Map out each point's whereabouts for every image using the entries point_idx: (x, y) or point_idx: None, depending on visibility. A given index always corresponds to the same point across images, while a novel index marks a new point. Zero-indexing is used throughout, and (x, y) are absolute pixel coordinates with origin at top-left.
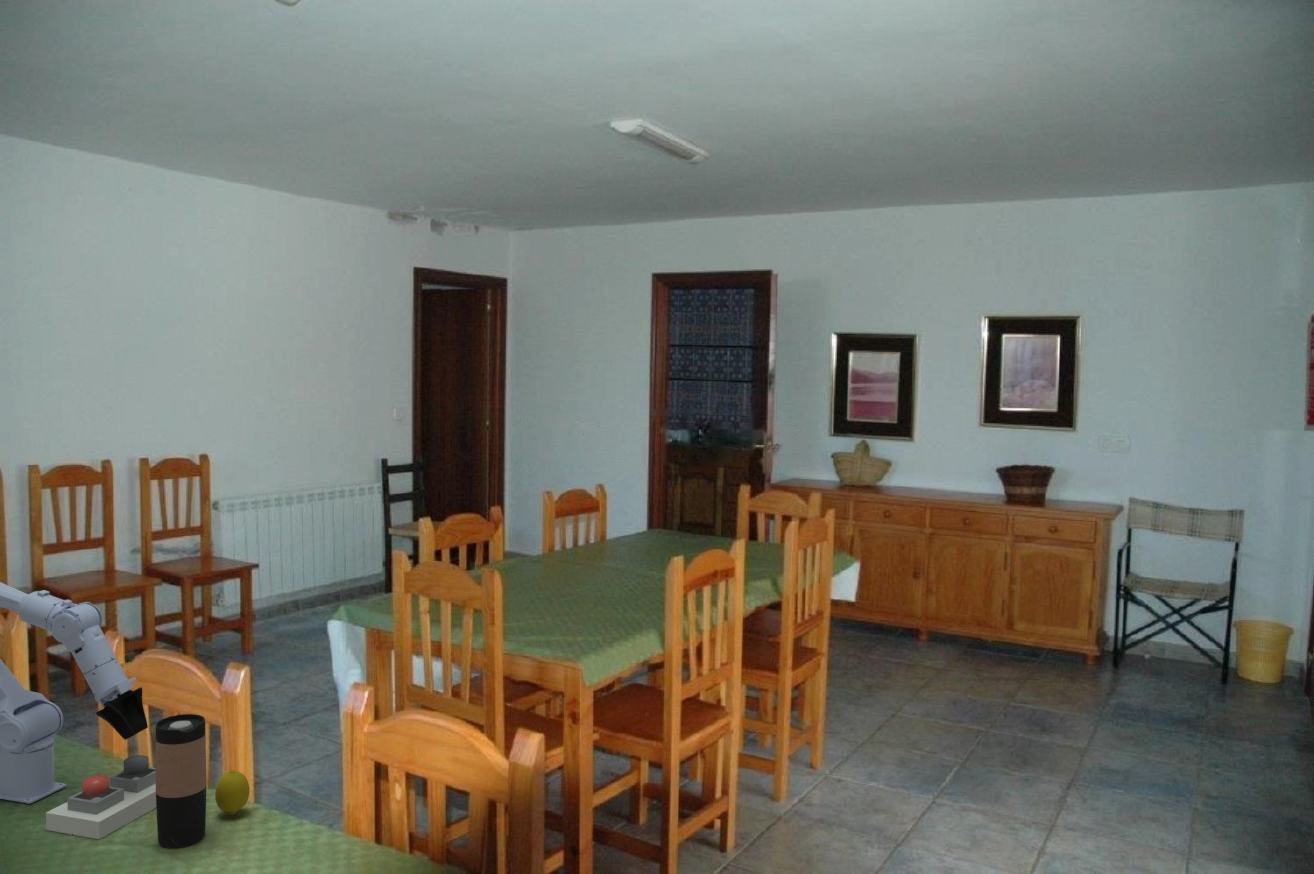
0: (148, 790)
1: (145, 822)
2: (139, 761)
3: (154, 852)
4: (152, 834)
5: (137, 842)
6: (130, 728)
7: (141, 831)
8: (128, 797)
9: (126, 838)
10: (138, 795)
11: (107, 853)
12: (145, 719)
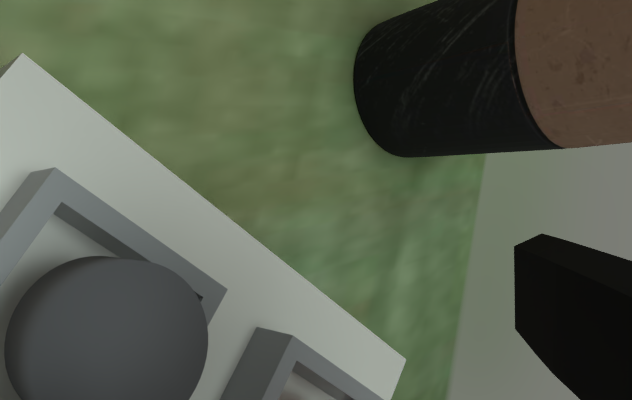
0: (178, 231)
1: (279, 217)
2: (173, 313)
3: (446, 163)
4: (362, 180)
5: (394, 219)
6: (567, 385)
7: (337, 220)
8: (236, 313)
9: (367, 259)
10: (226, 270)
11: (428, 292)
12: (618, 261)
